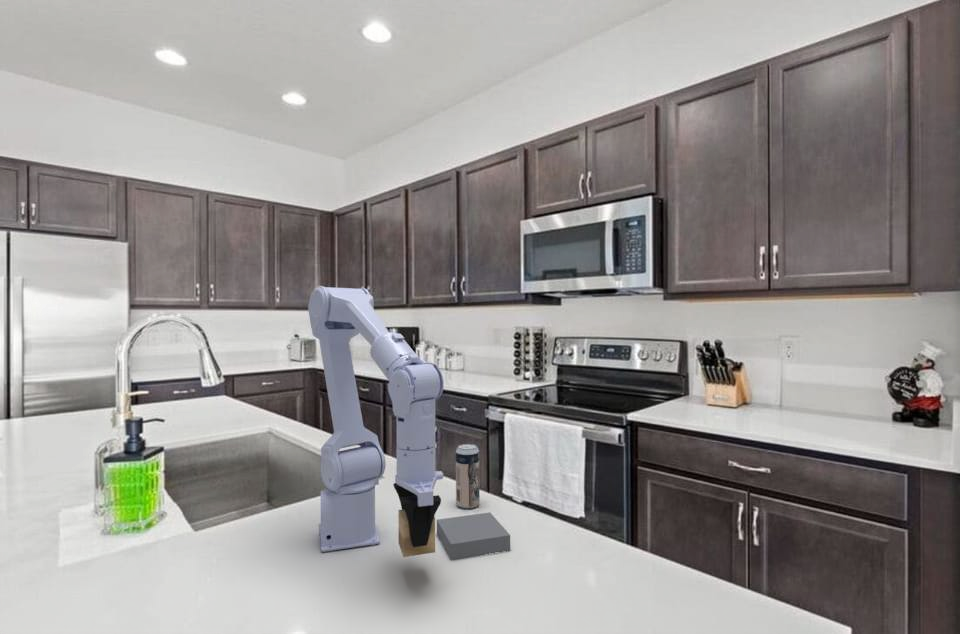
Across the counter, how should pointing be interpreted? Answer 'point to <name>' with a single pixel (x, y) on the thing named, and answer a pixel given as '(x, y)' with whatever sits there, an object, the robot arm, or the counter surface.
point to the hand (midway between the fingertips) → (416, 537)
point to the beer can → (467, 476)
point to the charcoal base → (472, 535)
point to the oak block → (406, 541)
